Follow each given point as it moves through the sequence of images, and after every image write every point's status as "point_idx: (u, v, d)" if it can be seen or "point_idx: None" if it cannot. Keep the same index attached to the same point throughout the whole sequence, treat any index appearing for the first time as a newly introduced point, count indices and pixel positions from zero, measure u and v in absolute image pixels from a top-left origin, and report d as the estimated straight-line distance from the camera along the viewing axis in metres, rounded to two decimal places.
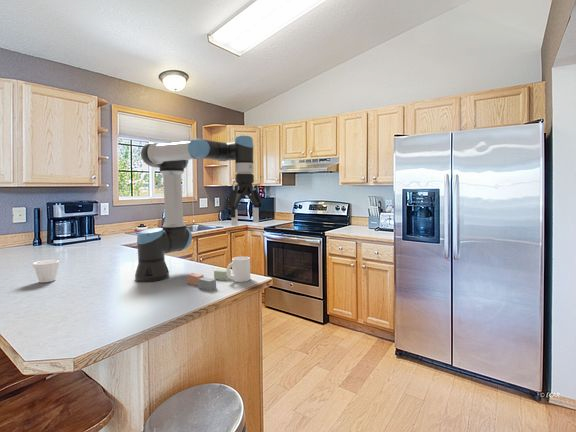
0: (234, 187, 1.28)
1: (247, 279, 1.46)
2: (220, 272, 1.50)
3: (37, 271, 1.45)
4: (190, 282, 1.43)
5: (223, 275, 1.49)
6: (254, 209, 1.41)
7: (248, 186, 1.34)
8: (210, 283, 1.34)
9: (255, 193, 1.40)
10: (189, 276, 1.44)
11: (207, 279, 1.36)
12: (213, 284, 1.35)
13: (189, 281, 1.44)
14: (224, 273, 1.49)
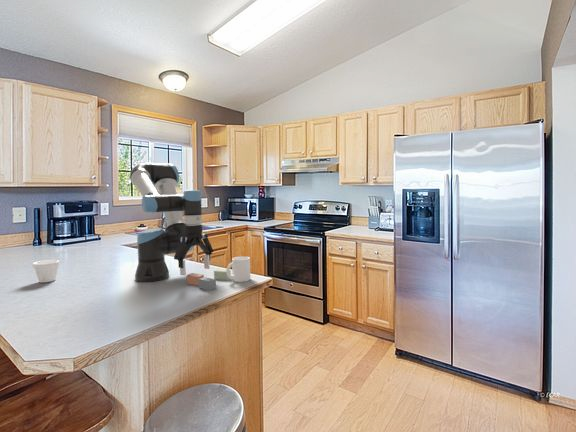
0: (182, 240, 1.36)
1: (247, 279, 1.46)
2: (220, 272, 1.50)
3: (37, 271, 1.45)
4: (190, 282, 1.43)
5: (223, 275, 1.49)
6: (205, 256, 1.49)
7: (197, 236, 1.42)
8: (210, 283, 1.34)
9: (205, 241, 1.48)
10: (189, 276, 1.43)
11: (207, 279, 1.36)
12: (213, 284, 1.35)
13: (189, 281, 1.44)
14: (224, 273, 1.49)
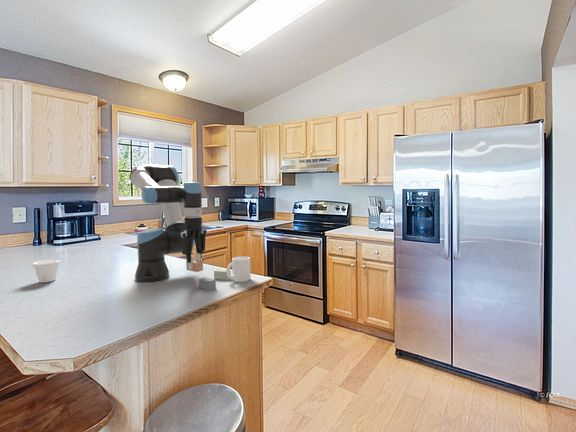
0: (182, 236, 1.37)
1: (247, 279, 1.46)
2: (220, 272, 1.50)
3: (37, 271, 1.45)
4: (189, 269, 1.43)
5: (223, 275, 1.49)
6: (196, 255, 1.45)
7: (197, 226, 1.43)
8: (209, 283, 1.34)
9: (202, 237, 1.46)
10: None
11: (207, 279, 1.36)
12: (212, 284, 1.35)
13: None
14: (224, 273, 1.49)
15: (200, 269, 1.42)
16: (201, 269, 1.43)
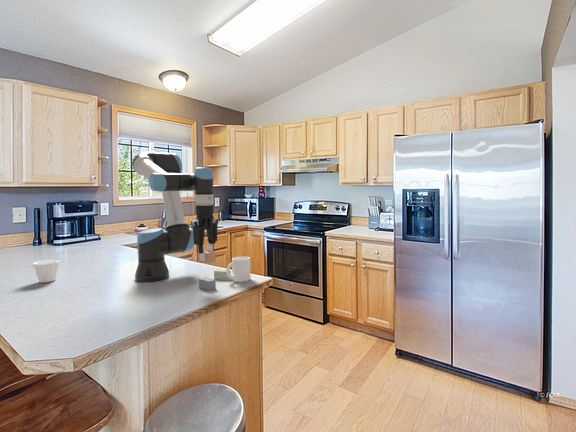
0: (194, 224, 1.29)
1: (247, 279, 1.46)
2: (220, 272, 1.50)
3: (37, 271, 1.45)
4: None
5: (223, 275, 1.49)
6: (208, 245, 1.37)
7: (209, 215, 1.35)
8: (209, 283, 1.34)
9: (214, 226, 1.38)
10: None
11: (207, 279, 1.36)
12: (212, 284, 1.35)
13: None
14: (224, 273, 1.49)
15: (213, 260, 1.34)
16: (214, 260, 1.35)
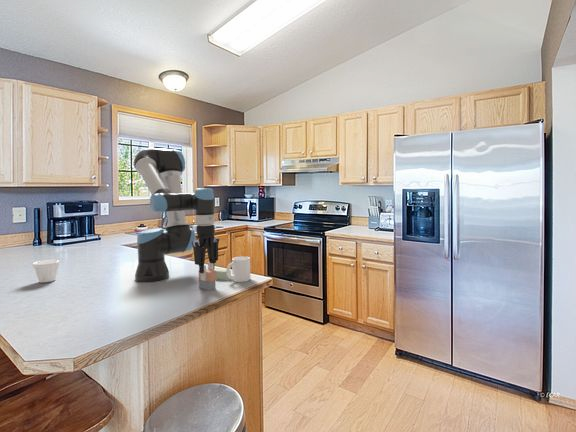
0: (195, 245, 1.30)
1: (247, 279, 1.46)
2: (220, 272, 1.50)
3: (37, 271, 1.45)
4: None
5: (223, 275, 1.49)
6: (209, 265, 1.38)
7: (210, 234, 1.36)
8: (209, 284, 1.34)
9: (215, 245, 1.39)
10: None
11: None
12: (212, 285, 1.35)
13: None
14: (224, 273, 1.49)
15: (213, 279, 1.35)
16: (214, 279, 1.35)
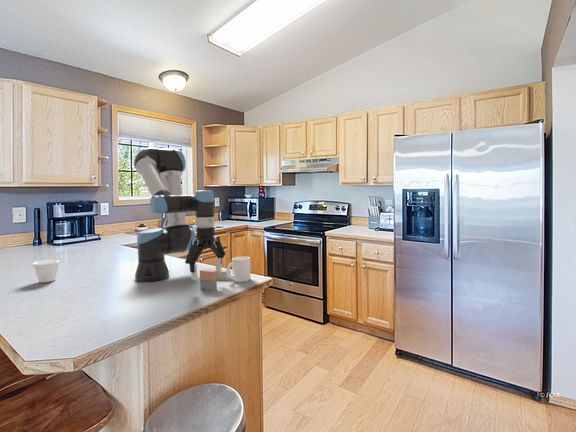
0: (193, 243, 1.29)
1: (247, 279, 1.46)
2: None
3: (37, 271, 1.45)
4: (204, 278, 1.35)
5: (223, 275, 1.49)
6: (217, 259, 1.42)
7: (209, 239, 1.35)
8: (210, 284, 1.33)
9: (217, 244, 1.41)
10: (202, 272, 1.35)
11: None
12: (213, 285, 1.34)
13: (202, 277, 1.35)
14: (225, 273, 1.49)
15: (216, 278, 1.35)
16: (217, 278, 1.36)
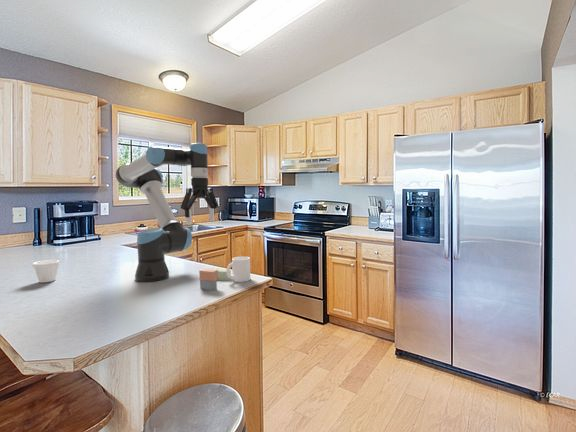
0: (188, 190, 1.42)
1: (247, 279, 1.46)
2: (220, 272, 1.50)
3: (37, 271, 1.45)
4: (203, 278, 1.35)
5: (223, 275, 1.49)
6: (210, 210, 1.54)
7: (203, 189, 1.48)
8: (210, 284, 1.33)
9: (211, 195, 1.53)
10: (202, 272, 1.35)
11: None
12: (213, 285, 1.34)
13: (202, 277, 1.35)
14: (225, 273, 1.49)
15: (216, 278, 1.35)
16: (216, 278, 1.36)
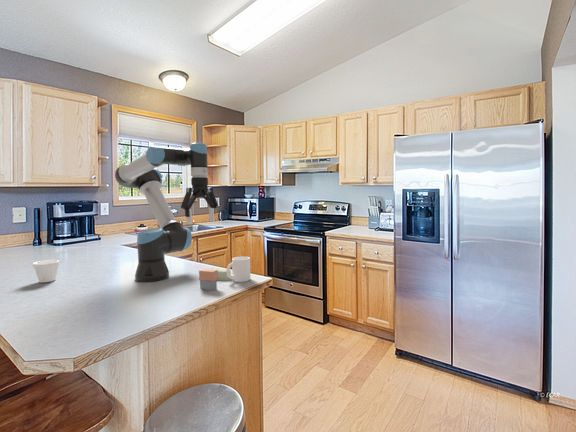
0: (188, 190, 1.42)
1: (247, 279, 1.46)
2: (220, 272, 1.50)
3: (37, 271, 1.45)
4: (203, 278, 1.35)
5: (223, 275, 1.49)
6: (210, 209, 1.54)
7: (203, 188, 1.48)
8: (210, 284, 1.33)
9: (211, 195, 1.53)
10: (202, 272, 1.35)
11: None
12: (213, 285, 1.34)
13: (202, 277, 1.35)
14: (225, 273, 1.49)
15: (216, 278, 1.35)
16: (216, 278, 1.36)
